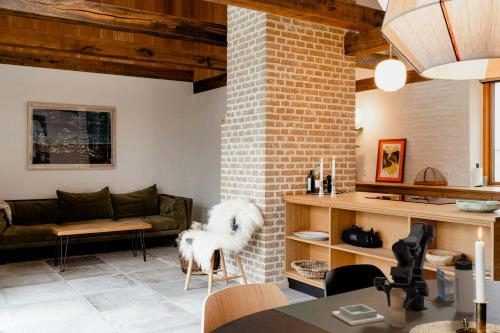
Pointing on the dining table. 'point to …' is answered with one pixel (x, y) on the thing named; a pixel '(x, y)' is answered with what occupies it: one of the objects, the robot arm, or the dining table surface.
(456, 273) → the travel mug
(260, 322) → the dining table surface
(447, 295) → the label tape box
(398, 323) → the tan cylinder
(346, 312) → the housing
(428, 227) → the robot arm
